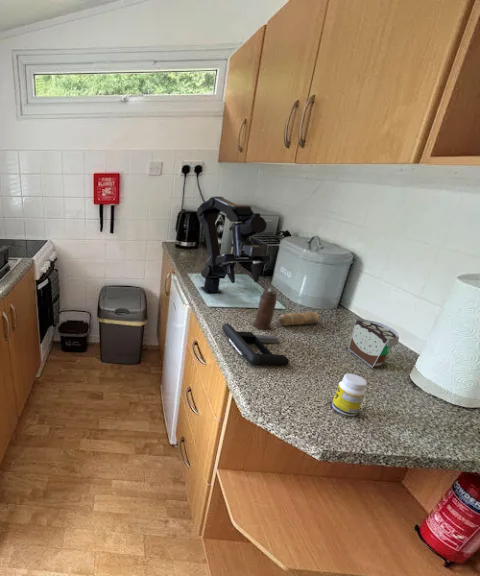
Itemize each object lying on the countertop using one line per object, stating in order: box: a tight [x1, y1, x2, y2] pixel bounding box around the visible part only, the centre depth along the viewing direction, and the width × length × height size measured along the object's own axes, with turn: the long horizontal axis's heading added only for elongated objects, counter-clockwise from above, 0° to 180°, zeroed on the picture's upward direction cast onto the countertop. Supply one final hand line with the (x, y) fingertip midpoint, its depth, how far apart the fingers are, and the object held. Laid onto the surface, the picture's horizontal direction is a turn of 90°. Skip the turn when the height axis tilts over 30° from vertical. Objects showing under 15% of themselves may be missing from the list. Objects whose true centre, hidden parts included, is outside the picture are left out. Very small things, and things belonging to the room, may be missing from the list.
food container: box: [347, 318, 400, 369], centre depth 89 cm, size 12×6×10 cm, turn 179°
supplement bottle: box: [331, 373, 368, 417], centre depth 70 cm, size 5×5×8 cm
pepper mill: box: [253, 287, 278, 331], centre depth 105 cm, size 5×5×14 cm
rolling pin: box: [278, 311, 320, 327], centre depth 109 cm, size 15×4×4 cm, turn 100°
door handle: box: [221, 322, 290, 366], centre depth 95 cm, size 3×20×16 cm
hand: (244, 282), depth 112 cm, fingers open, 9 cm apart
